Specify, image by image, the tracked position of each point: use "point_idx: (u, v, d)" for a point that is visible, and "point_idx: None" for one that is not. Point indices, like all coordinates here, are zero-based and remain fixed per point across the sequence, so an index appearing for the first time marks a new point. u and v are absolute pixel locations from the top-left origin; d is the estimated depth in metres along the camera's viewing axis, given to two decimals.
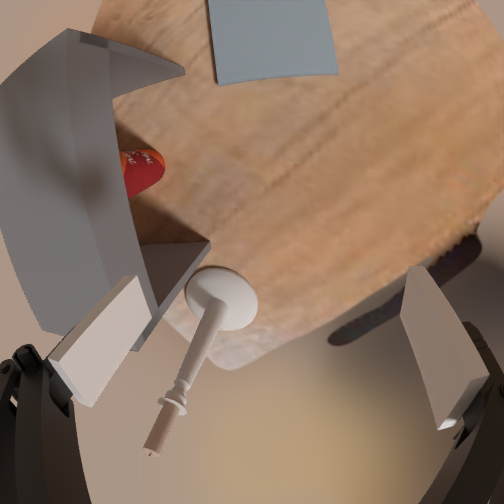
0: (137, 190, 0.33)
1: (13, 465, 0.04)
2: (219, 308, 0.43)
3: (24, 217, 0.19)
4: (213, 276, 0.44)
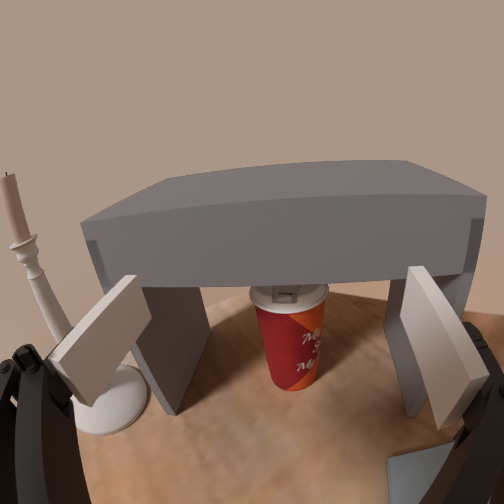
0: (267, 340, 0.27)
1: (13, 465, 0.04)
2: None
3: (277, 173, 0.24)
4: (132, 401, 0.28)
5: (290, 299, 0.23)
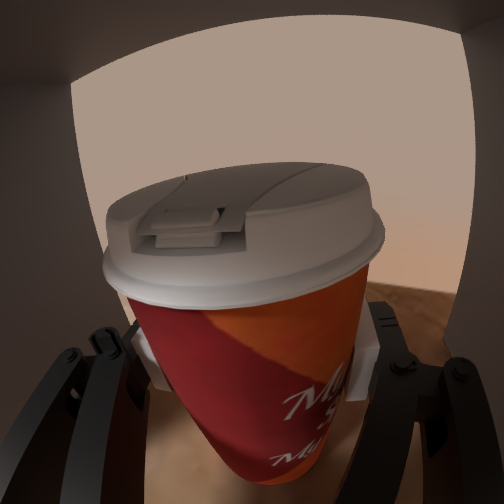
0: (176, 392, 0.08)
1: (55, 466, 0.05)
2: None
3: None
4: None
5: (211, 233, 0.04)
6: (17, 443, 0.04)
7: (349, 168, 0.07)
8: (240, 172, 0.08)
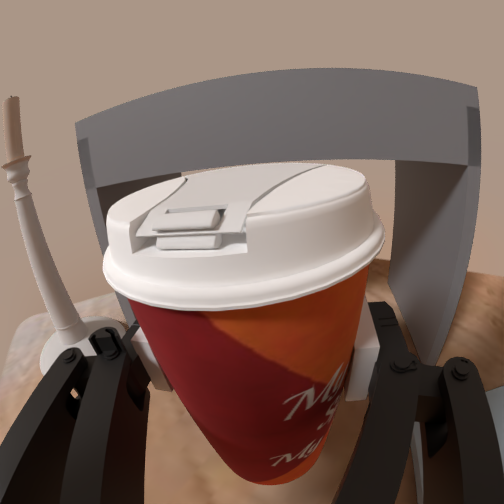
0: None
1: (55, 465, 0.05)
2: (69, 329, 0.24)
3: None
4: None
5: (212, 235, 0.04)
6: (17, 442, 0.04)
7: (349, 169, 0.07)
8: (240, 173, 0.08)
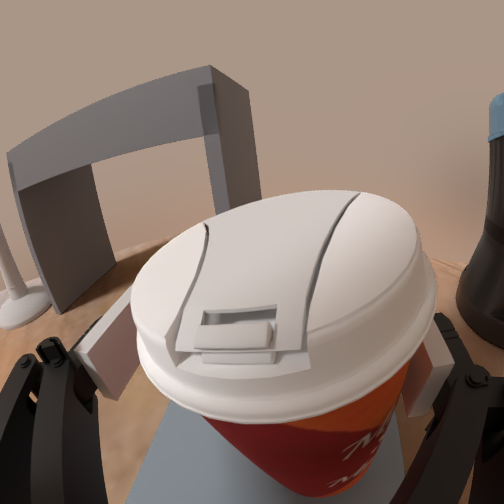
0: None
1: (26, 464, 0.04)
2: (14, 288, 0.31)
3: None
4: (38, 303, 0.32)
5: (266, 351, 0.04)
6: None
7: (389, 201, 0.06)
8: (268, 218, 0.08)
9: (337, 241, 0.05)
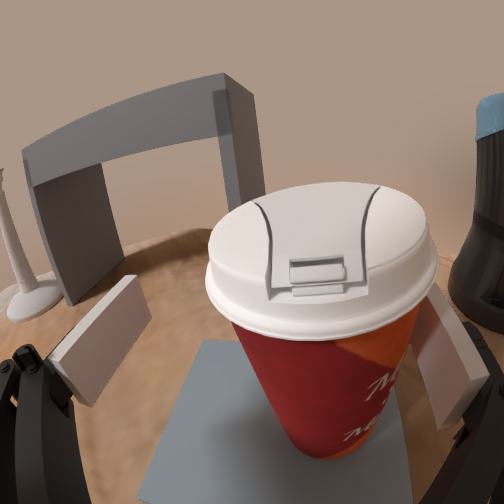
0: (269, 393, 0.10)
1: (13, 465, 0.04)
2: (25, 282, 0.33)
3: None
4: (49, 296, 0.34)
5: (340, 283, 0.06)
6: None
7: (403, 194, 0.08)
8: (312, 200, 0.09)
9: (372, 218, 0.07)
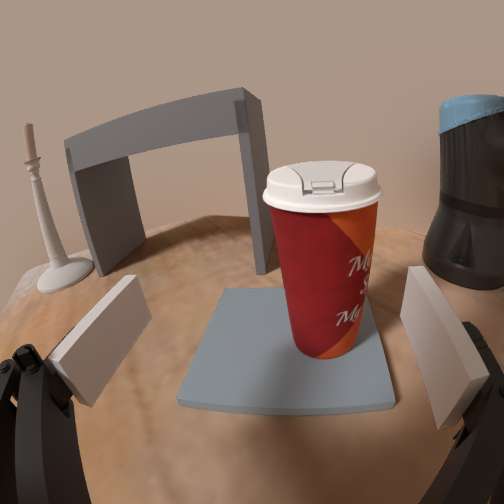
0: (291, 274, 0.18)
1: (13, 465, 0.04)
2: (57, 257, 0.41)
3: None
4: (80, 269, 0.42)
5: (332, 189, 0.14)
6: None
7: (367, 166, 0.16)
8: (319, 166, 0.17)
9: (348, 172, 0.15)
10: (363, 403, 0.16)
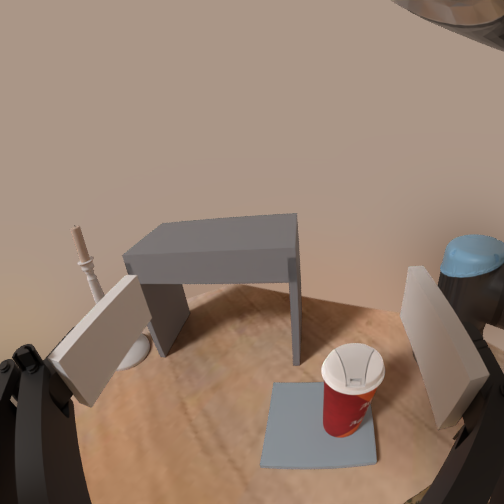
0: (331, 407, 0.29)
1: (13, 465, 0.04)
2: None
3: (214, 229, 0.49)
4: (141, 349, 0.53)
5: (359, 384, 0.25)
6: None
7: (380, 355, 0.28)
8: (353, 354, 0.29)
9: (369, 366, 0.27)
10: (360, 463, 0.27)
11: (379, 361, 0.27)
